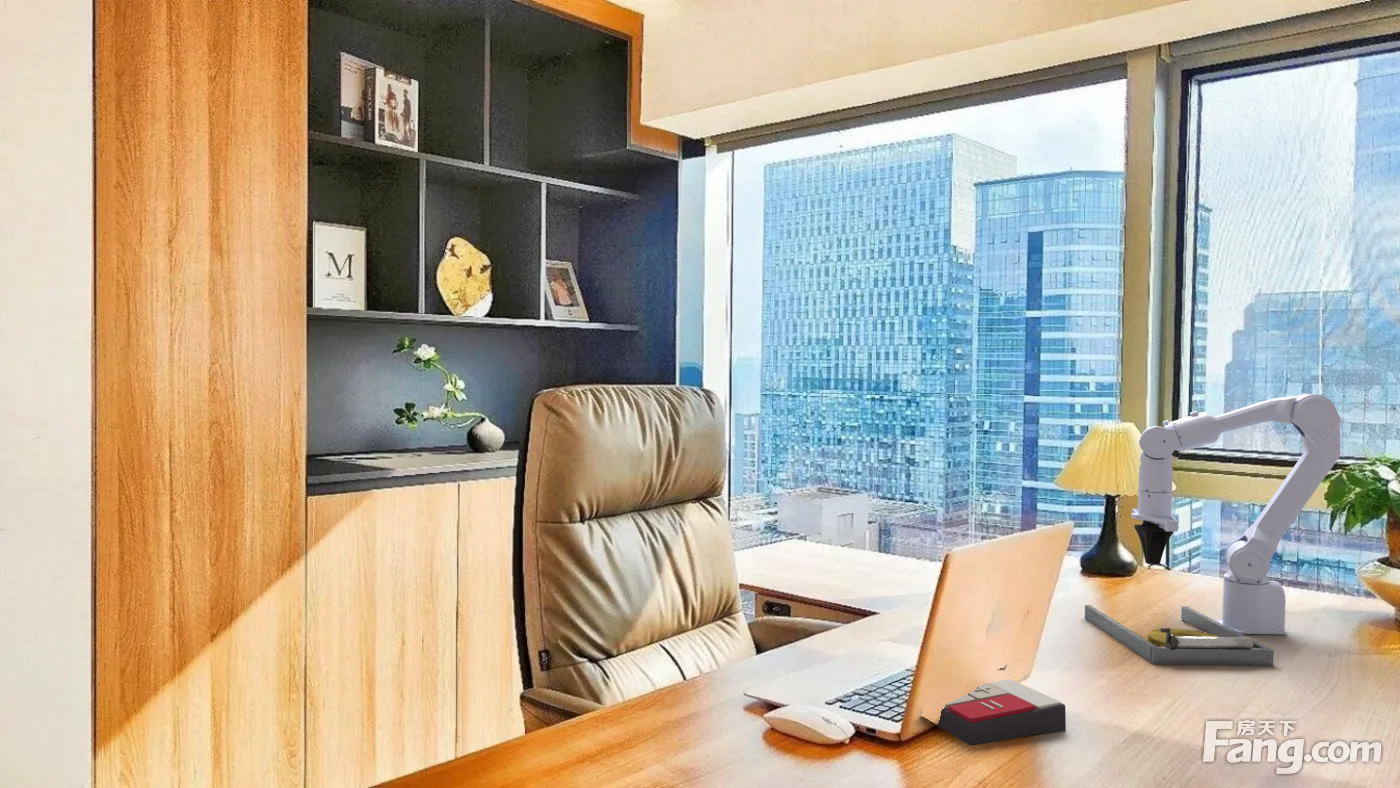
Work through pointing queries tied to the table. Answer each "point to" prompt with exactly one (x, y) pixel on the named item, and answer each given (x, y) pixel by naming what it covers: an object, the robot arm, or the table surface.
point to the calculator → (1002, 713)
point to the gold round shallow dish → (1160, 637)
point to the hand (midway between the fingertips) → (1152, 563)
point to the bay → (1184, 654)
